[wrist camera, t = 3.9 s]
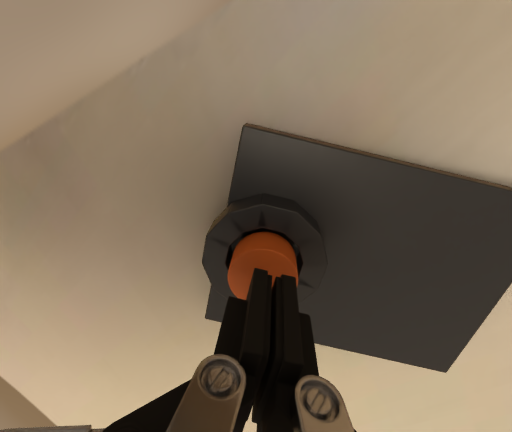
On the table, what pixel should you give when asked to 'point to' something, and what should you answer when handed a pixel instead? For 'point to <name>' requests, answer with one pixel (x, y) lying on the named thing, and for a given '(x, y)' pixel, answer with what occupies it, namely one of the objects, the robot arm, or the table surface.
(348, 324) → the scale
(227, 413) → the robot arm
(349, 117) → the table surface
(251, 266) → the button
